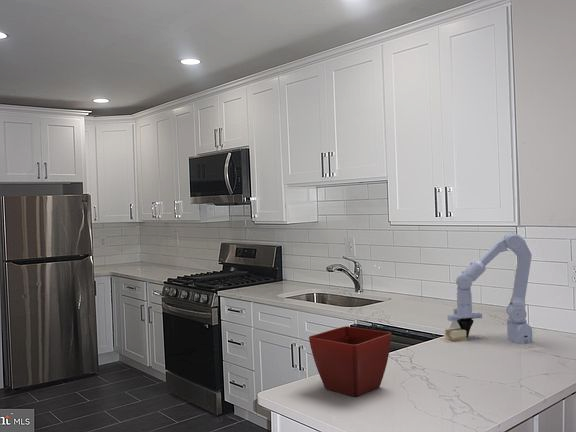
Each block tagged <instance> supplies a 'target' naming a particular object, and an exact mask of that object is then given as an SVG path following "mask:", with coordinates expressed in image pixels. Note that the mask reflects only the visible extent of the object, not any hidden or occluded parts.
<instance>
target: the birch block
mask: <svg viewBox="0 0 576 432" xmlns="http://www.w3.org/2000/svg"><path fill="white" fill-rule="evenodd" d="M444 336H445V337H444V339H445V340H448V341H449V342H452V343H457V342H456V341H459V342H466V340H467V338H466V330H463V329H461V328H450V327H449V328H445V329H444Z"/></svg>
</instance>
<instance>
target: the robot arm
mask: <svg viewBox="0 0 576 432" xmlns="http://www.w3.org/2000/svg"><path fill="white" fill-rule="evenodd" d="M508 249H509V250H511V251H512V252H513V253H514V254H515V256H516V257H517V263H516V270H515V275H514V282H513V289H512V293H511V298H510V301H509V303H508V305H507V306H506V314H507V315H508V316H509V317H508V318H507V319H506V327H507V328H506V331H507V333H506V334H507V336H506V337H507V340H508V341H510V342H512V343H517V344H519V345H520V344H529V343H530V344H531V343H533V340H534V339H533V329H532V326H530V325H529V324H528V323H527V311H526V297H527V295H526V294H527V288H528V283H529V282H528V281H529V275H530V270H531V269H530V268H531V262H532V252H531V250H530V248H529V246H528V245H527V242H526V240H525V239H524V238H523V237H522V236H520V235H519V234H518V233H515V232H514V233H513V232H508V233H506V234H505V235H504V237H502V238H500V239H499V240H498V241H496V243H494V245H492V246H491V247H490V248H489V250H488V251H487V252H486V253H485V254H484V255H483V256H482V257H481V259H479V260H473V261H470V262H469V266H468V267H466V269H464V270H461V274H459V275H458V276H456V280H455V283H456V287H457V288H456V291H457V292H456V304H457V305H456V307H457V308H456V309H457V311H458V314H454V313H453V314H449V315H447V321H449V322H452V320H457V322H458V324H459V326H460V328H461V329H463V330H466V337H468V336H470V332H471V328H472V326H473V324H474V319H483V313H480V312H473V304H472V303H473V302H472V301H473V300H472V299H473V297H472V290H471V289H472V288H471V287H472V286H473V282H476V281H477V280H478V279H479V277H480V276H482V275H483V274H484V273H485V272H486V269H487V268H486V266H487V265H488V264H489V263H490V262H491V261H493V260H494V259H495V258H496V257H497V256H498V255H499V254H500V253H504V252H507V251H509V250H508Z"/></svg>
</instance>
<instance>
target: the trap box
mask: <svg viewBox="0 0 576 432" xmlns="http://www.w3.org/2000/svg"><path fill="white" fill-rule="evenodd" d="M479 336H480V337H481V338H480V337H478V334H477V335H476V334H474V335H469V336H468V337H466V338H467V340H466V341H467V342H468V341H478V340H479V341H480V340H482V337H483V338H484V339H486V340H489V337H486V336H484V335H481V334H479ZM444 339H445V337H444V338H443V337H442V338H439V340H441V341H444V342H446V343H448V341H447V340H446V339H445V340H444ZM466 341H465V342H466ZM457 342H460V341H456V342H455V343H457Z"/></svg>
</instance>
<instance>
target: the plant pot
mask: <svg viewBox="0 0 576 432" xmlns="http://www.w3.org/2000/svg"><path fill="white" fill-rule="evenodd" d="M391 340H392V333H391V332H387V331H382V330H375V329H368V328H361V327H354V326H348V325H346V326H341V327H337V328H333V329H330V330H327V331H323V332H320V333H316V334H313V335H310V336H309V335H308V341H309V345H310V349H311V354H312V357H313V360H314V363H315V367H316V369H317V371H318V374H319V377H320V379H321V382H322V384H323V387H324V389H325V390H329V391H333V392H336V393H340V394H344V395H348V396H352V397H358V396H361V395H364V394H365V393H368V392H370V391H372V390H375V389H377V388H380V387H381V384H382V382H383V378H384V375H385V371H386V368H387V364H388V360H389V355H390V350H391V342H392V341H391Z"/></svg>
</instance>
